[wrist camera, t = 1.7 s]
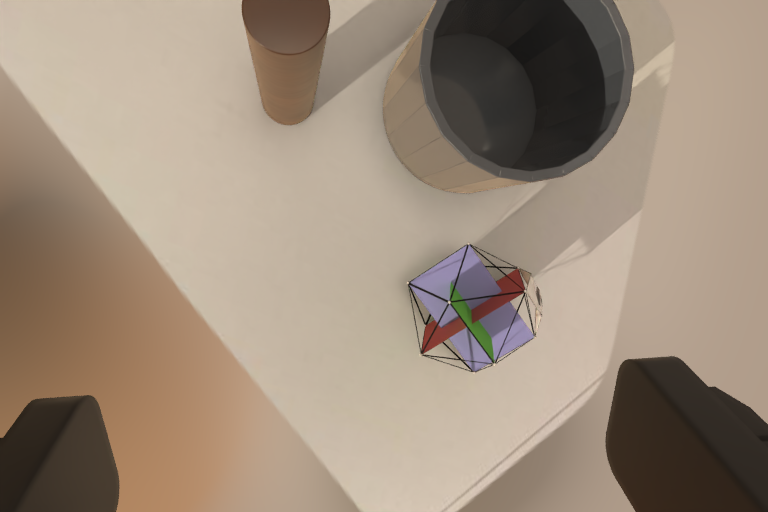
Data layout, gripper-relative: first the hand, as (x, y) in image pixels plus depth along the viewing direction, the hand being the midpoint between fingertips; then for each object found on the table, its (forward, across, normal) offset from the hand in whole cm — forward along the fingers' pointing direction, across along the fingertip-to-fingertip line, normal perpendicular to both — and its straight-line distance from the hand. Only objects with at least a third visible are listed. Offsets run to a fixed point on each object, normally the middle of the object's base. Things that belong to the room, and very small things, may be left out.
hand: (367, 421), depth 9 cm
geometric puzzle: (+24, -7, +12) cm, 27 cm away
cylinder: (+27, +3, -1) cm, 28 cm away
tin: (+28, -8, +1) cm, 29 cm away
